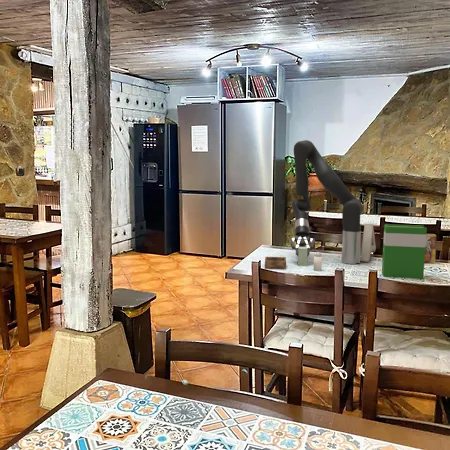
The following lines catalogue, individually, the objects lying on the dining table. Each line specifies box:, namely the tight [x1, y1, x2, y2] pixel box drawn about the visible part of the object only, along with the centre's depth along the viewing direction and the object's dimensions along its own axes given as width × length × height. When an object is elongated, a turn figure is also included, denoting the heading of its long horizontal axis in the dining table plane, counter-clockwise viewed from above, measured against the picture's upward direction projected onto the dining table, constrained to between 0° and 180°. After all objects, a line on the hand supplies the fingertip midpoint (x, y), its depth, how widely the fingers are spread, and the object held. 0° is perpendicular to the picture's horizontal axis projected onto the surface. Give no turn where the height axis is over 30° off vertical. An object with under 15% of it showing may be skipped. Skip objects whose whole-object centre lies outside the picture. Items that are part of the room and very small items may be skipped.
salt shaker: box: [313, 251, 323, 272], centre depth 226 cm, size 4×4×9 cm
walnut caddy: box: [264, 256, 287, 270], centre depth 232 cm, size 11×10×4 cm
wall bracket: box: [360, 223, 377, 263], centre depth 258 cm, size 22×4×30 cm
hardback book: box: [381, 223, 428, 280], centre depth 214 cm, size 18×7×24 cm, turn 77°
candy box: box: [424, 233, 437, 264], centre depth 242 cm, size 9×4×15 cm, turn 81°
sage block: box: [297, 246, 308, 267], centre depth 236 cm, size 4×4×9 cm
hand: (302, 255), depth 236 cm, fingers closed on sage block, 4 cm apart
